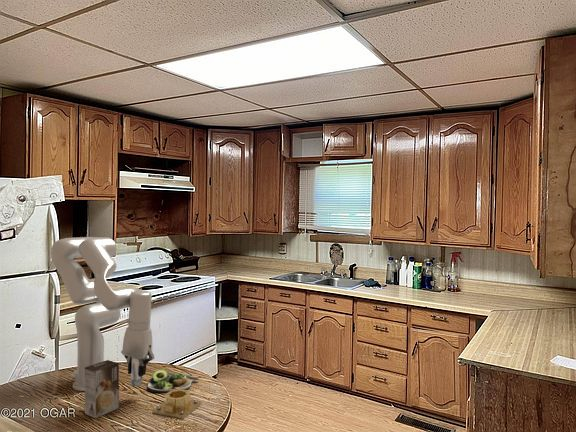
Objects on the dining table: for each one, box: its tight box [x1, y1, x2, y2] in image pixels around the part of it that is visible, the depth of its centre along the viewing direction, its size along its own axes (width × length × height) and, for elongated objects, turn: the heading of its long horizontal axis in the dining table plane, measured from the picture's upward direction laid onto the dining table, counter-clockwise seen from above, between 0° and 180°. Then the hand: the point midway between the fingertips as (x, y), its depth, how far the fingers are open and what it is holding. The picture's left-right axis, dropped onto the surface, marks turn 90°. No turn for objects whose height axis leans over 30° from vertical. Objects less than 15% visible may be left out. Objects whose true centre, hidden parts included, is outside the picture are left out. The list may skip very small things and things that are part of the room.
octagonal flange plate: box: [152, 388, 202, 420], centre depth 153 cm, size 12×12×5 cm
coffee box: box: [84, 359, 120, 419], centre depth 150 cm, size 9×6×16 cm
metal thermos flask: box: [129, 357, 143, 387], centre depth 159 cm, size 4×4×12 cm
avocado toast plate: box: [146, 368, 200, 394], centre depth 174 cm, size 19×18×5 cm
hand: (136, 373), depth 160 cm, fingers closed on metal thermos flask, 4 cm apart
